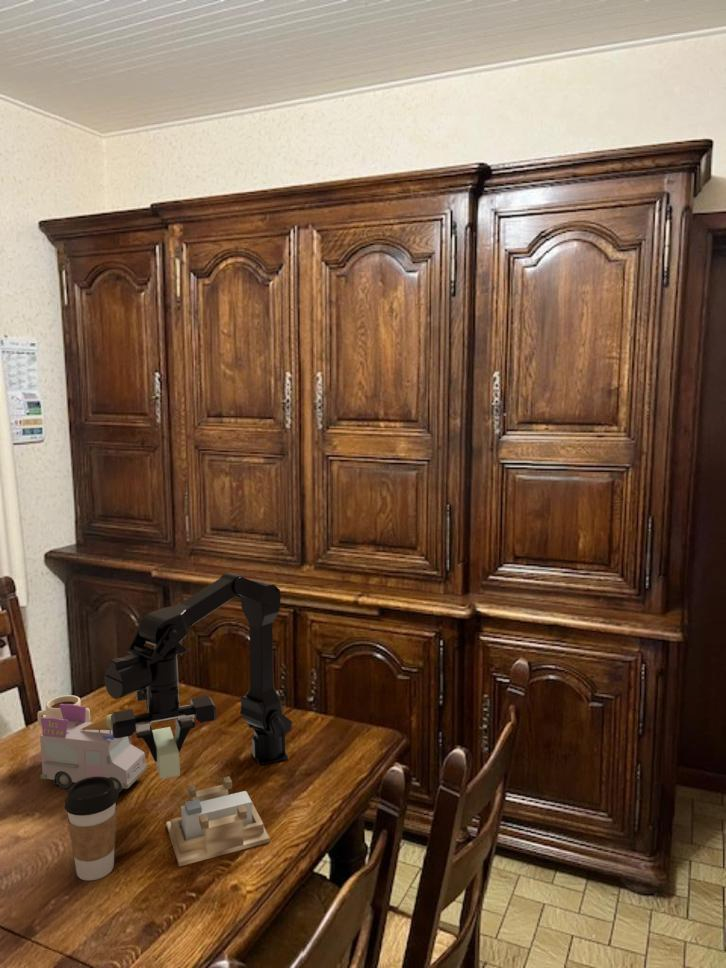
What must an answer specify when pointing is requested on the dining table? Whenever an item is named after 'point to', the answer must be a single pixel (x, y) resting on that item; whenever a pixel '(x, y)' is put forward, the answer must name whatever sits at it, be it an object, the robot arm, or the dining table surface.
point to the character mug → (54, 707)
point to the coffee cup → (92, 825)
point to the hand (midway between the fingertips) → (166, 758)
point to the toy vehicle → (87, 750)
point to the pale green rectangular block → (166, 753)
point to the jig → (216, 830)
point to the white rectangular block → (212, 812)
